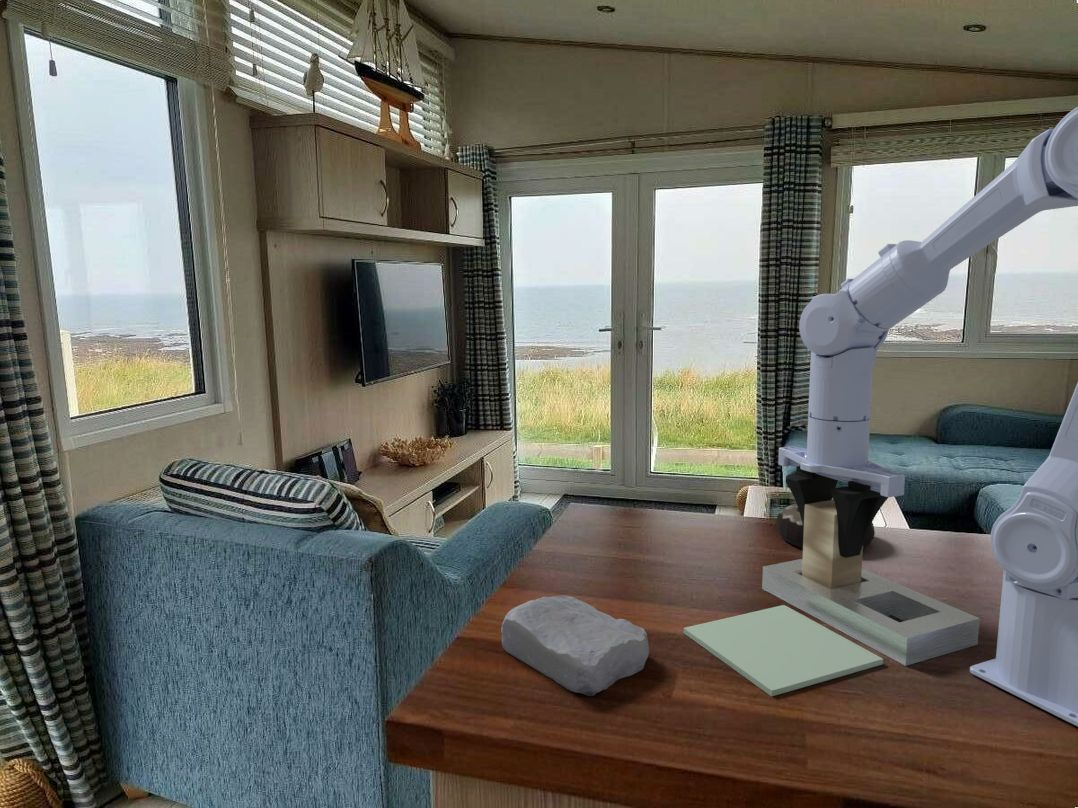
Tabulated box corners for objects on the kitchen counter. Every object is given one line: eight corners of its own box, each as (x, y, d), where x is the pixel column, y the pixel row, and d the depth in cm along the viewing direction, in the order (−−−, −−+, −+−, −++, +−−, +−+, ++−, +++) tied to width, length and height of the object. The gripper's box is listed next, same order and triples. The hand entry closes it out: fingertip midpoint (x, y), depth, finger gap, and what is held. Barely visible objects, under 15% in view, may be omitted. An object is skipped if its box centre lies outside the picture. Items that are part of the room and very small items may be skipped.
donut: (773, 551, 90) (774, 520, 90) (777, 523, 101) (778, 495, 100) (877, 562, 86) (879, 530, 86) (870, 532, 97) (871, 502, 96)
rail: (977, 644, 66) (979, 618, 65) (905, 665, 62) (907, 638, 62) (826, 575, 82) (827, 553, 82) (762, 588, 79) (762, 566, 78)
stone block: (569, 636, 73) (489, 649, 66) (577, 589, 72) (497, 597, 66) (661, 689, 64) (579, 710, 57) (671, 635, 63) (589, 650, 57)
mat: (882, 664, 63) (883, 658, 62) (771, 696, 58) (771, 690, 58) (783, 609, 73) (784, 604, 73) (683, 632, 69) (683, 627, 69)
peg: (860, 585, 74) (864, 509, 73) (830, 592, 73) (834, 514, 72) (830, 572, 78) (834, 499, 77) (801, 578, 76) (804, 504, 75)
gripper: (757, 409, 78) (753, 532, 80) (867, 432, 65) (859, 579, 67) (808, 404, 81) (803, 523, 83) (924, 426, 67) (915, 566, 69)
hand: (832, 548), depth 75 cm, fingers closed on peg, 4 cm apart
